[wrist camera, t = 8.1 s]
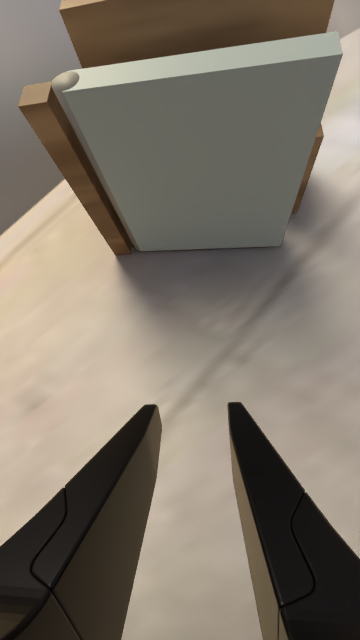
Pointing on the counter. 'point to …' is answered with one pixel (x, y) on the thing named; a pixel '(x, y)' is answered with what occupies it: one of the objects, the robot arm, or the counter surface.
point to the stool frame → (146, 43)
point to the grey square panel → (204, 138)
